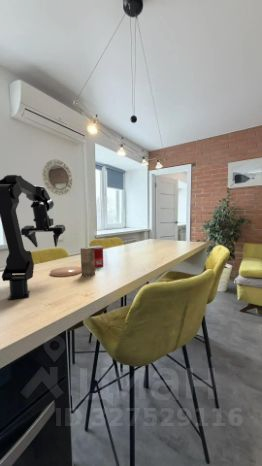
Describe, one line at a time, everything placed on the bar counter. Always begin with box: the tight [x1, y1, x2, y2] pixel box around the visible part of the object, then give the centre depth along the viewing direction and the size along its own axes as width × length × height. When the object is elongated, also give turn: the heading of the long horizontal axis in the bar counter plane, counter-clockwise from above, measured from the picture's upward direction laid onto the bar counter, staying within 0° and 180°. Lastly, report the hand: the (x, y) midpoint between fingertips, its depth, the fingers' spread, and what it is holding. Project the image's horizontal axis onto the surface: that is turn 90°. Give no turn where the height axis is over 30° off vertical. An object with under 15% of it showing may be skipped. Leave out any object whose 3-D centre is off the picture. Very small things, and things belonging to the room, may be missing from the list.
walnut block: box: [79, 246, 96, 277], centre depth 105 cm, size 4×4×13 cm
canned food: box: [90, 245, 104, 268], centre depth 125 cm, size 8×8×11 cm
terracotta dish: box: [49, 266, 82, 278], centre depth 112 cm, size 16×16×1 cm
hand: (46, 246), depth 105 cm, fingers open, 9 cm apart
